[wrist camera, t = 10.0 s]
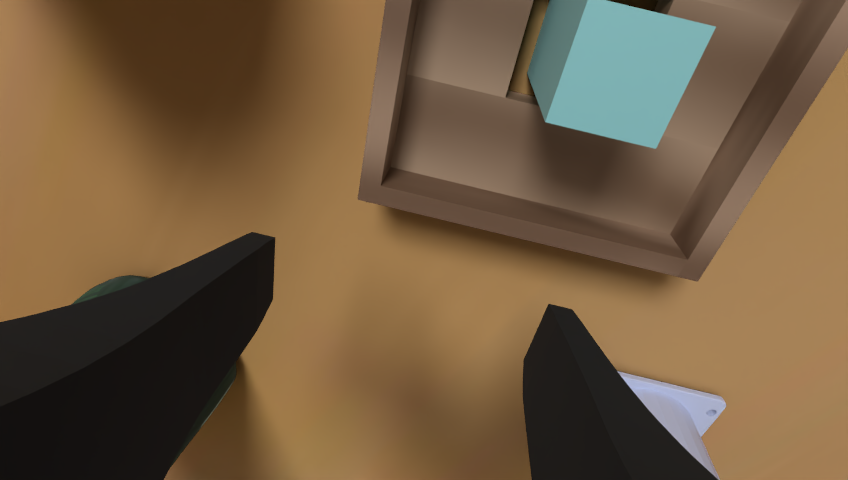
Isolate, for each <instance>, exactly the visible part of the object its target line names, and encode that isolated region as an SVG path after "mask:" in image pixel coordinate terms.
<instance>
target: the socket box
mask: <svg viewBox="0 0 848 480" xmlns="http://www.w3.org/2000/svg"><path fill="white" fill-rule="evenodd" d="M533 1H534V0H386V2H385V10H384V17H383V24H382V31H381V38H380V45H379V52H378V59H377V66H376V73H375V80H374V87H373V94H372V102H371V109H370V116H369V123H368V130H367V137H366V144H365V151H364V158H363V165H362V172H361V179H360V186H359V194H358V200H362V201H366V202H370V203H374V204H379V205H383V206H387V207H391V208H395V209H399V210H403V211H408V212H412V213H416V214H420V215H424V216H428V217H432V218H437V219H441V220H445V221H449V222H453V223H457V224H461V225H466V226H470V227H474V228H478V229H482V230H486V231H490V232H495V233H499V234H503V235H507V236H511V237H515V238H519V239H524V240H528V241H532V242H536V243H540V244H544V245H548V246H553V247H557V248H561V249H565V250H569V251H573V252H577V253H582V254H586V255H590V256H594V257H598V258H602V259H606V260H611V261H615V262H619V263H623V264H627V265H631V266H635V267H640V268H644V269H648V270H652V271H656V272H660V273H664V274H669V275H673V276H677V277H681V278H685V279H689V280H693V281H698V280H699V279H700V277H701V276H702V274H703V273H704V271H705V269H706V268H707V266H708V265H709V263H710V262H711V260H712V259H713V257H714V255H715V254H716V252H717V251H718V249H719V248H720V246H721V245H722V243H723V241H724V240H725V238H726V237H727V235H728V234H729V232H730V230H731V229H732V227H733V226H734V224H735V223H736V221H737V220H738V218H739V216H740V215H741V213H742V212H743V210H744V209H745V207H746V206H747V204H748V202H749V201H750V199H751V198H752V196H753V195H754V193H755V192H756V190H757V188H758V187H759V185H760V184H761V182H762V181H763V179H764V178H765V176H766V174H767V173H768V171H769V170H770V168H771V167H772V165H773V164H774V162H775V160H776V159H777V157H778V156H779V154H780V153H781V151H782V150H783V148H784V146H785V145H786V143H787V142H788V140H789V139H790V137H791V136H792V134H793V132H794V131H795V129H796V128H797V126H798V125H799V123H800V122H801V120H802V118H803V117H804V115H805V114H806V112H807V111H808V109H809V108H810V106H811V104H812V103H813V101H814V100H815V98H816V97H817V95H818V93H819V92H820V90H821V89H822V87H823V86H824V84H825V83H826V81H827V79H828V78H829V76H830V75H831V73H832V72H833V70H834V69H835V67H836V65H837V64H838V62H839V61H840V59H841V58H842V56H843V55H844V53H845V51H846V50H847V48H848V0H658V2H657V5H656V7H655V9H654V12H657V13H661V14H665V15H670V16H674V17H678V18H682V19H686V20H690V21H695V22H699V23H703V24H707V25H711V26H715V27H716V28H715V30H714V32H713V34H712V36H711V38H710V40H709V42H708V44H707V46H706V48H705V50H704V52H703V54H702V57H701V59H700V61H699V63H698V65H697V67H696V69H695V71H694V73H693V75H692V77H691V79H690V81H689V83H688V85H687V87H686V89H685V91H684V93H683V95H682V97H681V99H680V101H679V103H678V105H677V107H676V109H675V111H674V113H673V115H672V117H671V119H670V121H669V123H668V125H667V128H666V130H665V132H664V134H663V136H662V138H661V140H660V142H659V144H658V146H657V148H656V149H654V148H650V147H646V146H642V145H637V144H633V143H629V142H625V141H621V140H617V139H613V138H609V137H604V136H600V135H596V134H592V133H588V132H584V131H580V130H575V129H571V128H567V127H563V126H559V125H555V124H551V123H546V122H545V120H544V118H543V115H542V112H541V109H540V107H539V104H538V101H537V99H536V97H534V96H530V95H526V94H522V93H518V92H513V91H509V90H508V87H509V83H510V80H511V76H512V73H513V69H514V66H515V63H516V59H517V56H518V52H519V49H520V45H521V42H522V39H523V35H524V32H525V28H526V25H527V21H528V18H529V15H530V11H531V8H532V4H533Z"/></svg>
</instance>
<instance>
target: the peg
mask: <svg viewBox="0 0 848 480" xmlns="http://www.w3.org/2000/svg"><path fill="white" fill-rule="evenodd" d="M715 28H716V27H715V26H711V25H707V24H703V23H699V22H695V21H690V20H686V19H682V18H678V17H674V16H670V15H665V14H661V13H657V12H653V11H649V10H645V9H640V8H636V7H632V6H628V5H624V4H620V3H616V2H611V1H607V0H550V1H549V4H548V7H547V10H546V14H545V17H544V20H543V23H542V26H541V30H540V33H539V36H538V39H537V43H536V46H535V49H534V52H533V56H532V59H531V62H530V65H529V68H528V72H527V74H528V77H529V80H530V82H531V85H532V88H533V91H534V93H535V96H536V99H537V101H538V104H539V107H540V109H541V112H542V115H543V118H544V120H545V122H546V123H551V124H555V125H559V126H563V127H567V128H571V129H575V130H580V131H584V132H588V133H592V134H596V135H600V136H604V137H609V138H613V139H617V140H621V141H625V142H629V143H633V144H637V145H642V146H646V147H650V148H654V149H656V148H657V146H658V144H659V142H660V140H661V138H662V136H663V134H664V132H665V130H666V128H667V125H668V123H669V121H670V119H671V117H672V115H673V113H674V111H675V109H676V107H677V105H678V103H679V101H680V99H681V97H682V95H683V93H684V91H685V89H686V87H687V85H688V83H689V81H690V79H691V77H692V75H693V73H694V71H695V69H696V67H697V65H698V63H699V61H700V59H701V57H702V54H703V52H704V50H705V48H706V46H707V44H708V42H709V40H710V38H711V36H712V34H713V32H714V30H715Z"/></svg>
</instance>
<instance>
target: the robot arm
mask: <svg viewBox="0 0 848 480" xmlns="http://www.w3.org/2000/svg"><path fill="white" fill-rule="evenodd" d="M274 255H275V237H271V236H266V235H262V234H258V233H254V232H251V233H249V234H246V235H244V236H242V237H240V238H238V239H236V240H233V241H231V242H229V243H227V244H225V245H223V246H221V247H219V248H217V249H215V250H213V251H211V252H209V253H206V254H204V255H202V256H200V257H198V258H196V259H194V260H192V261H189V262H187V263H185V264H183V265H181V266H178V267H176V268H173V269H171V270H169V271H166V272H164V273H161V274H159V275H157V276H154V277H152V278H150V279H147V280H145V281H142V282H140V283H137V284H134V285H132V286H129V287H126V288H123V289H121V290H118V291H115V292H112V293H109V294H105V295H102V296H99V297H96V298H93V299H90V300H87V301H83V302H80V303H76V304H72V305H68V306H65V307H61V308H57V309H53V310H50V311H46V312H42V313H39V314H35V315H31V316H26V317H22V318H17V319H13V320H8V321H4V322H0V480H164V478H165V476H166V474H167V472H168V470H169V468H170V467H171V465H172V463H173V461H174V459H175V457H176V455H177V453H178V452H179V450H180V448H181V446H182V444H183V443H184V441H185V439H186V437H187V435H188V434H189V432H190V430H191V428H192V427H193V425H194V423H195V421H196V419H197V418H198V416H199V414H200V413H201V411H202V410H203V408H204V407H205V405H206V404H207V402H208V400H209V399H210V398H211V396H212V395H213V393H214V392H215V390H216V389H217V388H218V386H219V385H220V383H221V382H222V380H223V379H224V378H225V376H226V375H227V373H228V372H229V370H230V369H231V368H232V366H233V365H234V363H235V362H236V360H237V359H238V358H239V356H240V355H241V353H242V352H243V350H244V349H245V347H246V346H247V345H248V343H249V342H250V340H251V339H252V337H253V336H254V334H255V333H256V331H257V329H258V328H259V326H260V324H261V322H262V320H263V318H264V316H265V314H266V312H267V310H268V308H269V306H270V304H271V302H272V300H273V282H274ZM523 404H524V413H525V423H526V432H527V441H528V449H529V458H530V467H531V476H532V480H720V479H719V476H718V474H717V472H716V470H715V468H714V465H713V463H712V461H711V459H710V457H709V454H708V452H707V450H706V448H705V446H704V443H703V441H702V439H701V436H702V435H703V434H704V433H705V432H706V430H707V429H708V428H709V427H710V426H711V424H712V423H713V422H714V421H715V420H716V418H717V417H718V416H719V415H720V414H721V412H722V411H723V410H724V409H725V407H726V403H725V401H724V399H723V398H722V397H720V396H718V395H713V394H709V393H705V392H701V391H697V390H693V389H689V388H685V387H681V386H676V385H672V384H668V383H664V382H660V381H656V380H652V379H648V378H643V377H639V376H635V375H631V374H627V373H623V372H619V371H617V370H616V369H615V368H614V366H613V365H612V364H611V362H610V361H609V360H608V358H607V357H606V356H605V354H604V353H603V351H602V350H601V349H600V347H599V346H598V345H597V343H596V342H595V340H594V339H593V338H592V336H591V335H590V333H589V332H588V331H587V329H586V328H585V326H584V325H583V323H582V322H581V321H580V319H579V318H578V317H577V315H576V314H575V313H574V311H573V310H572V309H568V308H564V307H560V306H556V305H551V304H548V307H547V309H546V311H545V313H544V316H543V318H542V320H541V322H540V325H539V327H538V329H537V331H536V334H535V336H534V338H533V340H532V343H531V345H530V347H529V349H528V352H527V354H526V356H525V358H524V365H523Z"/></svg>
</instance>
